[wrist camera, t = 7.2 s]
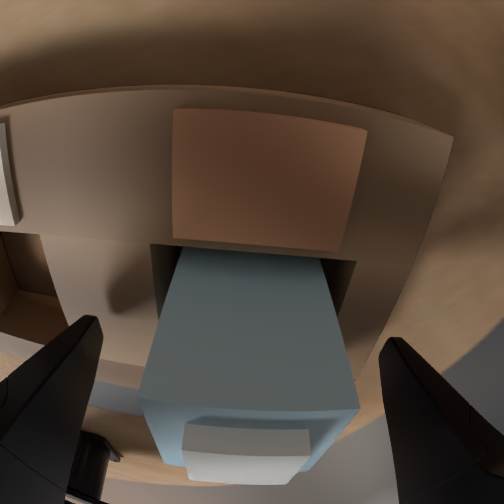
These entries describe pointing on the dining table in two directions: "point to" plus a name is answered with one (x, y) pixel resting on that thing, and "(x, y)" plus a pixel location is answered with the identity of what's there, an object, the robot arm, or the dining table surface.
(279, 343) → the plug
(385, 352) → the robot arm
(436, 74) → the dining table surface
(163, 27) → the dining table surface
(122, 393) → the pad
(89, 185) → the socket block
